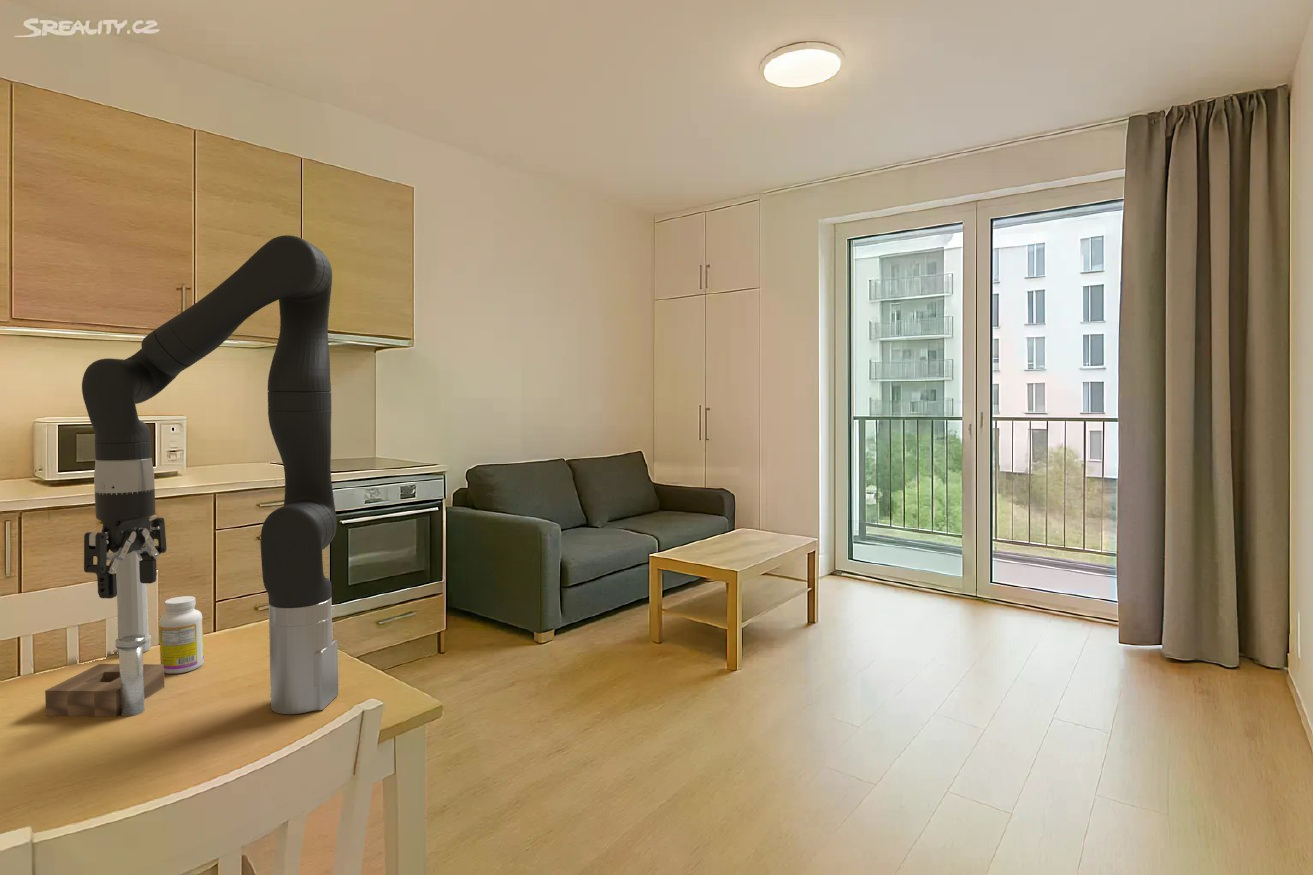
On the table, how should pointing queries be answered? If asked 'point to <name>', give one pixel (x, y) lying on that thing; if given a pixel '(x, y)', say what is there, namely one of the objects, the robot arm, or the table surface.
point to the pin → (131, 673)
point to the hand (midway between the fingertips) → (129, 589)
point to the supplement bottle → (181, 636)
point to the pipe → (132, 600)
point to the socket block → (97, 691)
